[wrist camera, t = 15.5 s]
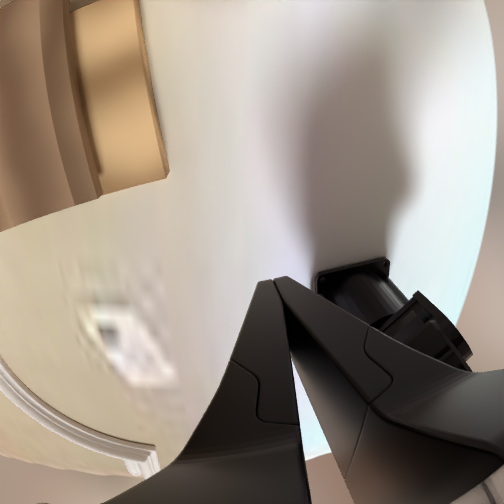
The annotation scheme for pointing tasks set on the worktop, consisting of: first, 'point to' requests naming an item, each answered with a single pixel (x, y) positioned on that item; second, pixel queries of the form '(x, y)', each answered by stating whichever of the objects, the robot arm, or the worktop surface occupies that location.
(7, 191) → the laid planks
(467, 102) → the worktop surface
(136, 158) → the oak plank
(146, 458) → the molding
